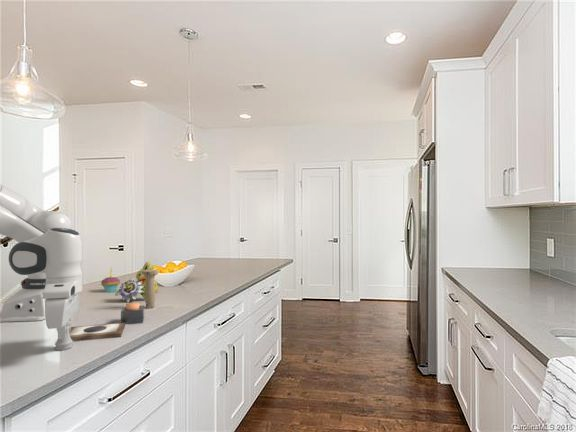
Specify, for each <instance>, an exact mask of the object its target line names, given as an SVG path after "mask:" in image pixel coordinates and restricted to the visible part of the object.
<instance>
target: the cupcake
mask: <svg viewBox="0 0 576 432" xmlns="http://www.w3.org/2000/svg"><path fill="white" fill-rule="evenodd" d="M100 283H101V284H100V285H101V286H102V287H103V289H104V291H105V292H106V293H113V292H116V291H117V289H118V286H119V285H121V280H120V278H118V277H113V267H112V266H111V268H110V276H109V277H105V278H103V279H102V280H101V282H100ZM105 292H104V293H105Z"/></svg>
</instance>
